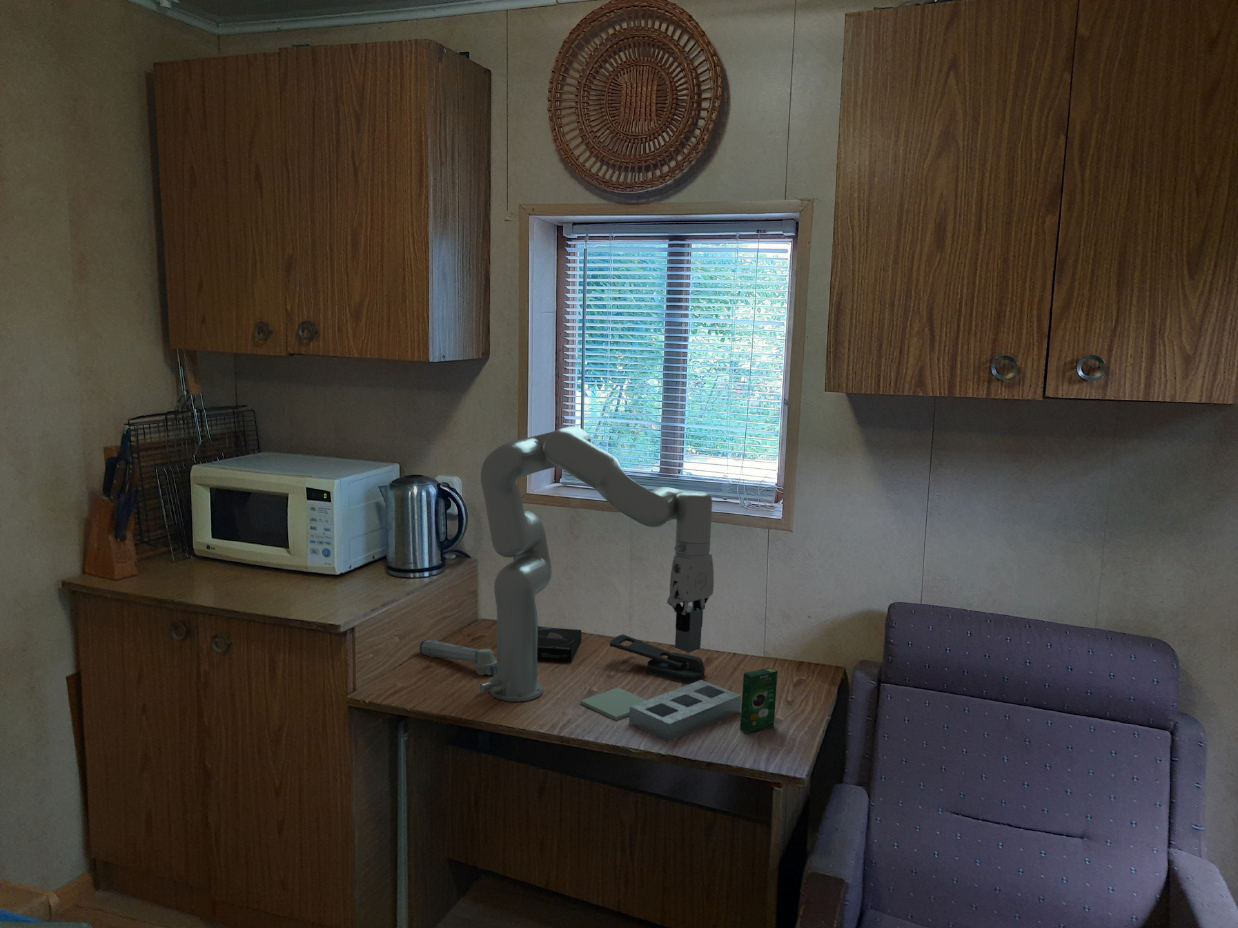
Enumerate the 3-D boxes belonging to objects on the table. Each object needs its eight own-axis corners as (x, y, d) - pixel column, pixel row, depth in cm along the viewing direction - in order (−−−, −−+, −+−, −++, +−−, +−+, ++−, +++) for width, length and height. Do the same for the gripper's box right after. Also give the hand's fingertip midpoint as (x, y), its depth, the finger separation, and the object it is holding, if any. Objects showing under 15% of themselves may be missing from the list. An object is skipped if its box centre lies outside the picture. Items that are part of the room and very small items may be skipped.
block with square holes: (668, 741, 193) (669, 723, 192) (629, 723, 201) (629, 706, 201) (740, 711, 209) (740, 695, 209) (700, 695, 218) (701, 679, 217)
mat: (616, 720, 203) (616, 716, 203) (580, 703, 211) (580, 700, 211) (653, 706, 211) (653, 702, 211) (617, 690, 220) (617, 687, 219)
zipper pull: (621, 632, 242) (710, 648, 232) (620, 656, 243) (709, 673, 233) (606, 642, 234) (697, 659, 224) (605, 666, 235) (696, 685, 225)
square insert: (688, 652, 200) (690, 613, 199) (674, 647, 203) (676, 608, 202) (700, 648, 203) (702, 609, 202) (686, 643, 206) (688, 605, 205)
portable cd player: (581, 642, 254) (581, 629, 253) (571, 664, 237) (571, 649, 237) (523, 639, 256) (523, 625, 255) (509, 660, 239) (509, 645, 238)
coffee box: (766, 721, 204) (769, 665, 203) (775, 726, 202) (778, 669, 200) (739, 729, 200) (741, 672, 198) (747, 734, 198) (750, 676, 196)
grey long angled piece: (431, 636, 243) (500, 644, 228) (434, 661, 243) (503, 670, 229) (416, 641, 239) (486, 650, 224) (419, 666, 239) (488, 676, 225)
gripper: (679, 556, 191) (675, 640, 194) (730, 545, 203) (726, 625, 206) (653, 549, 197) (650, 631, 199) (704, 539, 208) (700, 616, 211)
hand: (688, 627), depth 202 cm, fingers closed on square insert, 4 cm apart
